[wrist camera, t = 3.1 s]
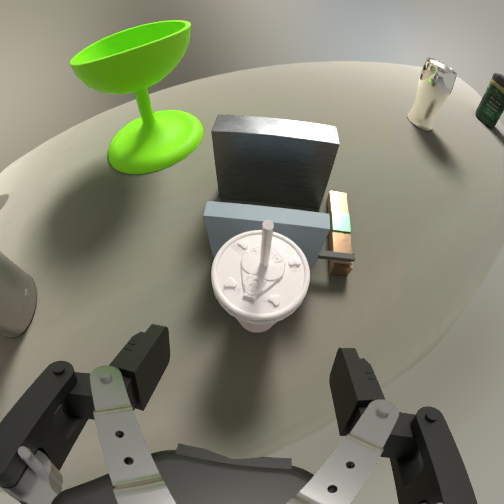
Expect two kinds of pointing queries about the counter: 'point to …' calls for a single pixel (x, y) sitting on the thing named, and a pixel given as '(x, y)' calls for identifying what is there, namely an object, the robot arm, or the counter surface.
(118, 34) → the wineglass
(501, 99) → the coffee jar
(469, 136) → the counter surface
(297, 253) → the smoothie
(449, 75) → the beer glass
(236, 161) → the gauge frame
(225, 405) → the counter surface
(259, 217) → the gauge paddle
